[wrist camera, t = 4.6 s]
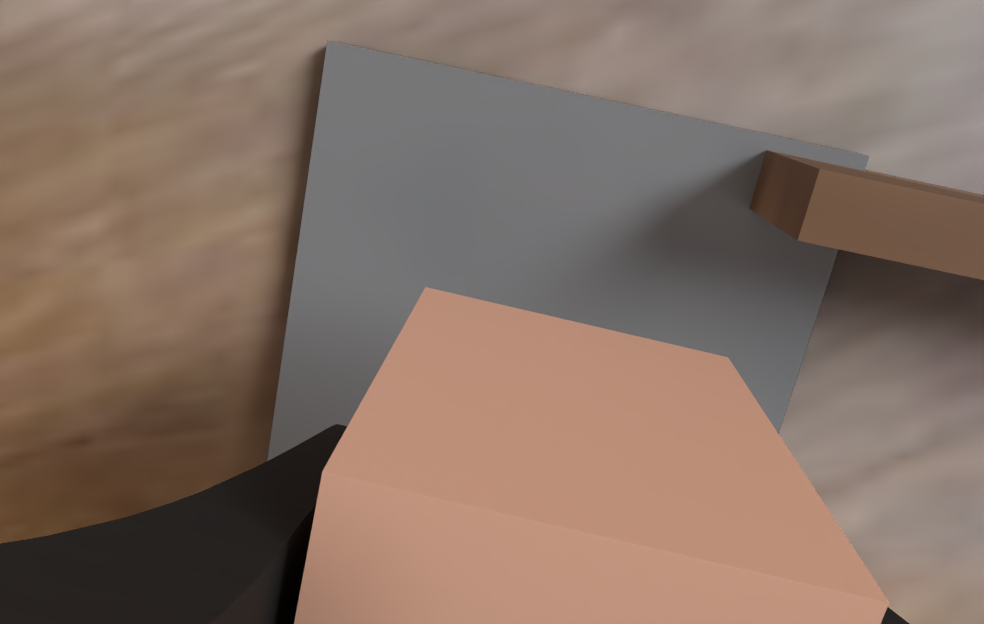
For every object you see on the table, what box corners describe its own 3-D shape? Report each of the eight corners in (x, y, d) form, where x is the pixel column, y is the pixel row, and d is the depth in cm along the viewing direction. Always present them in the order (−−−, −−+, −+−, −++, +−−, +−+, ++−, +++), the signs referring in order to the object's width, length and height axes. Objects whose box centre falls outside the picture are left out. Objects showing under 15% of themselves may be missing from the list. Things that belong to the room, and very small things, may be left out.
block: (645, 617, 14) (719, 1017, 8) (369, 554, 14) (240, 906, 8) (728, 357, 12) (889, 602, 7) (425, 287, 12) (322, 471, 7)
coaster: (713, 605, 21) (717, 620, 20) (266, 510, 21) (258, 523, 20) (858, 153, 18) (868, 155, 17) (334, 41, 18) (327, 40, 17)
